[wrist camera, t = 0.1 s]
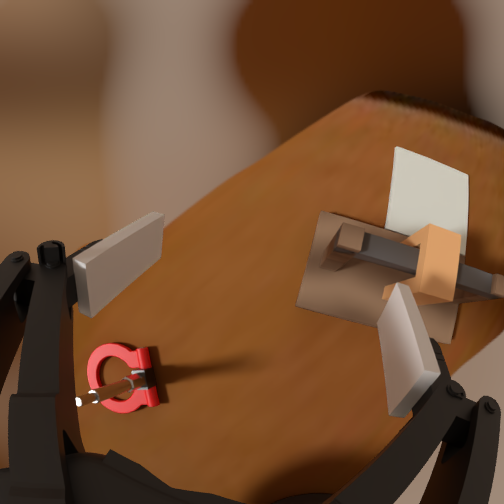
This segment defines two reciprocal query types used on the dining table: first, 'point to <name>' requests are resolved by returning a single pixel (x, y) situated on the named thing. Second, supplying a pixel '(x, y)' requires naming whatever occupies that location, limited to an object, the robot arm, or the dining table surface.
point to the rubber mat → (426, 196)
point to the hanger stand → (378, 276)
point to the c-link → (432, 265)
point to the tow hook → (137, 382)
